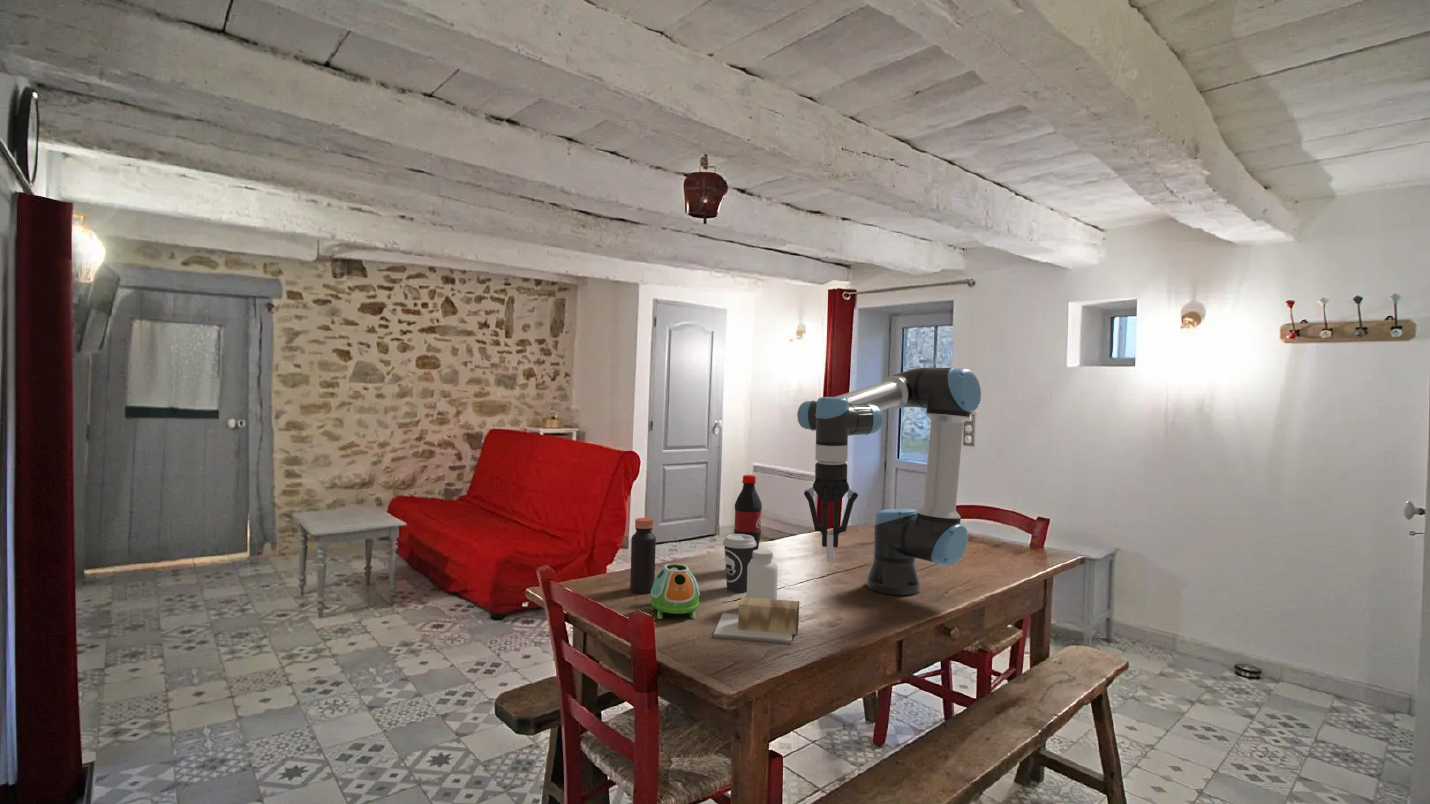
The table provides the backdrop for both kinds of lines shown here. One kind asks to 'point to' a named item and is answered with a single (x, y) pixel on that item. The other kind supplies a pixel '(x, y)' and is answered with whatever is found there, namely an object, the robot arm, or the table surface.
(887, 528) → the robot arm
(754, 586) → the pill bottle
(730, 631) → the shallow grey tray
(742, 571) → the coffee cup
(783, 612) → the oak block
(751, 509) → the cola bottle
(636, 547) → the vinegar
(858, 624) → the table surface
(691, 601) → the turtle holder
